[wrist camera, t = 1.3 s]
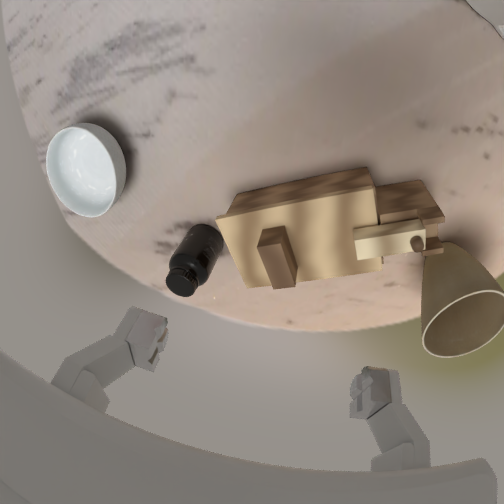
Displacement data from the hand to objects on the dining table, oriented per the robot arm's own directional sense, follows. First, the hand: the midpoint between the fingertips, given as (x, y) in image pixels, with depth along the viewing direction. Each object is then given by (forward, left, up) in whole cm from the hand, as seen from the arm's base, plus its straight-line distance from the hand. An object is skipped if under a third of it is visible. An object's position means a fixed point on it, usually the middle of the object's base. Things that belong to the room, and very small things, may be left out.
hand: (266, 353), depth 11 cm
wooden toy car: (-8, +13, -25) cm, 29 cm away
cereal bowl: (+35, -7, -34) cm, 49 cm away
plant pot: (-19, +26, -34) cm, 46 cm away
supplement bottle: (+22, +14, -34) cm, 42 cm away
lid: (+3, +13, -28) cm, 30 cm away
